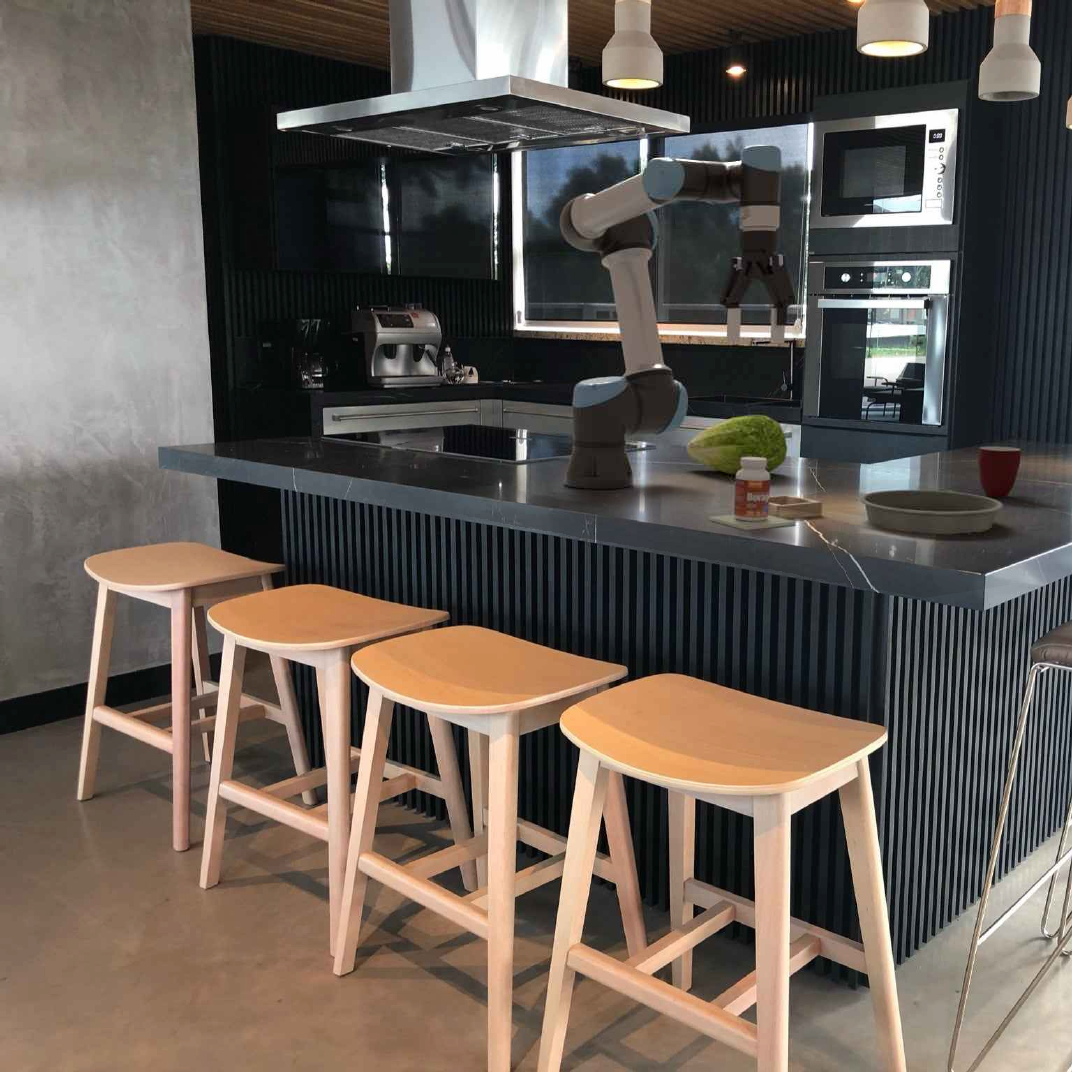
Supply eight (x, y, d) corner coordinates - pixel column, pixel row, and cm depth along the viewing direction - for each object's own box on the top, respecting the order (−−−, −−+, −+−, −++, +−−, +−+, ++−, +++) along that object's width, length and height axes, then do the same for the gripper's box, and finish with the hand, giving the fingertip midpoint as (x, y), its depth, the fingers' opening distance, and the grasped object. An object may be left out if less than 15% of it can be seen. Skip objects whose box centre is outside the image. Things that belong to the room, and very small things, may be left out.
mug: (989, 491, 246) (992, 444, 245) (1027, 495, 241) (1031, 447, 239) (969, 496, 239) (972, 448, 237) (1008, 501, 233) (1012, 452, 232)
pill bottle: (746, 522, 205) (749, 461, 203) (727, 517, 211) (729, 457, 208) (775, 520, 208) (778, 459, 205) (755, 515, 213) (757, 455, 211)
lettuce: (713, 468, 287) (704, 412, 284) (801, 465, 271) (792, 405, 268) (676, 486, 275) (666, 428, 272) (765, 484, 259) (756, 422, 256)
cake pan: (834, 515, 218) (835, 491, 217) (950, 510, 224) (951, 487, 223) (903, 540, 195) (905, 513, 194) (1030, 534, 200) (1033, 508, 199)
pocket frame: (745, 511, 221) (746, 498, 220) (786, 507, 225) (787, 494, 225) (779, 519, 212) (780, 506, 211) (821, 515, 217) (822, 502, 216)
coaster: (708, 520, 211) (709, 517, 211) (756, 515, 216) (756, 512, 216) (746, 530, 202) (746, 526, 202) (795, 524, 207) (795, 521, 207)
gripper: (704, 233, 230) (701, 341, 234) (786, 225, 208) (781, 344, 212) (734, 234, 233) (730, 340, 237) (818, 227, 212) (812, 343, 216)
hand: (754, 342), depth 225 cm, fingers open, 13 cm apart
